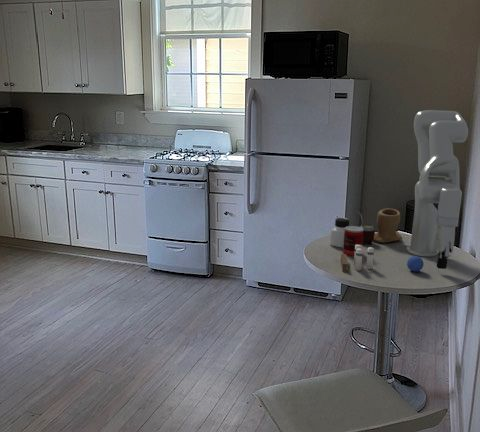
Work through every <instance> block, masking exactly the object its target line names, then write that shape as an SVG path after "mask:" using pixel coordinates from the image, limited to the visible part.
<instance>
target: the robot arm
mask: <svg viewBox="0 0 480 432" xmlns="http://www.w3.org/2000/svg"><path fill="white" fill-rule="evenodd" d="M468 127H469V126H468V125H467V121H466V120H465V119H464V118H463V117H462V115H461V113H459V112H458V111H455V110H438V109H437V110H436V109H428V110H427V109H425V110H421V111H418V112H417V113H416V114H415V116H414V120H413V131H414V135H415V138H416V141H417V156H418V158H417V160H418V161H417V162H418V164H417V165H418V173H419V177H418V180H419V181H417V182H416V183H415V186H414V214H413V221H412V230H411V239H410V245H409V246H407V247H406V252H407V253H408V254H410V255H412V256H418V257H426V258H427V257H428V258H429V257H430V258H431V257H435V256H437V260H436V267H437V269H441V270H443V269H444V270H447V266H448V259H449V256H450V254H452V253H453V251H454V247H455V237H456V227H459V220H460V219H459V218H460V210H461V203H462V197H463V192H462V190H461V187H460V185H461V184H460V182H461V181H460V163H459V158H457V156H455V155H454V147H453V146H454V145H453V143H461V144H462V143H464V142H466V141H467V139H468V136H469V128H468ZM429 177H432V178H433V179H431V178H429ZM435 178H443V179H435ZM434 204H438V205H437V208H436V206H435V205H434Z"/></svg>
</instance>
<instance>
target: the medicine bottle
mask: <svg viewBox="0 0 480 432" xmlns="http://www.w3.org/2000/svg"><path fill="white" fill-rule="evenodd" d="M347 226H350V219H348V218H346V217H338V218H335V222H334V228H333V229H331V230H330V240H329V241H330V243H329V246H332V247H337V248H342V249H343V243H344V231H345V227H347Z"/></svg>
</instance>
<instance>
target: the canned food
mask: <svg viewBox="0 0 480 432" xmlns="http://www.w3.org/2000/svg"><path fill="white" fill-rule="evenodd" d="M362 241H363V228H361V227H360V226H356V225H349V226H347V227H345V231H344V243H343V248H342V254H346V256H347V257H354V254H355V245H361V246H362V247H361V249H363V243H362Z"/></svg>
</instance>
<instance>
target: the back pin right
mask: <svg viewBox="0 0 480 432" xmlns="http://www.w3.org/2000/svg"><path fill="white" fill-rule="evenodd" d="M361 247H362V248H363V245H362V246H361V245H355V254H354V256H353V266H354V267H355V260H356V249H361Z"/></svg>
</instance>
